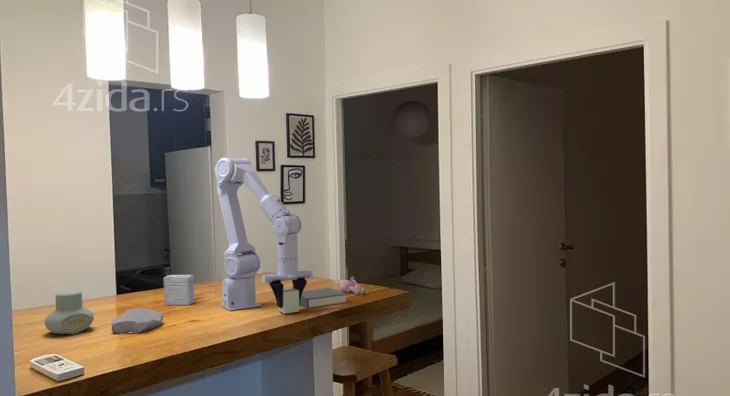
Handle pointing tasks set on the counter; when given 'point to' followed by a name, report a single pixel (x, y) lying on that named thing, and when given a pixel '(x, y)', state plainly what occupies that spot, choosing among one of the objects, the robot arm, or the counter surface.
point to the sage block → (290, 301)
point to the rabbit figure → (350, 286)
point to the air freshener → (69, 314)
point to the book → (321, 298)
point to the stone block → (137, 321)
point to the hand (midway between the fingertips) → (288, 305)
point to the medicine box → (179, 290)
